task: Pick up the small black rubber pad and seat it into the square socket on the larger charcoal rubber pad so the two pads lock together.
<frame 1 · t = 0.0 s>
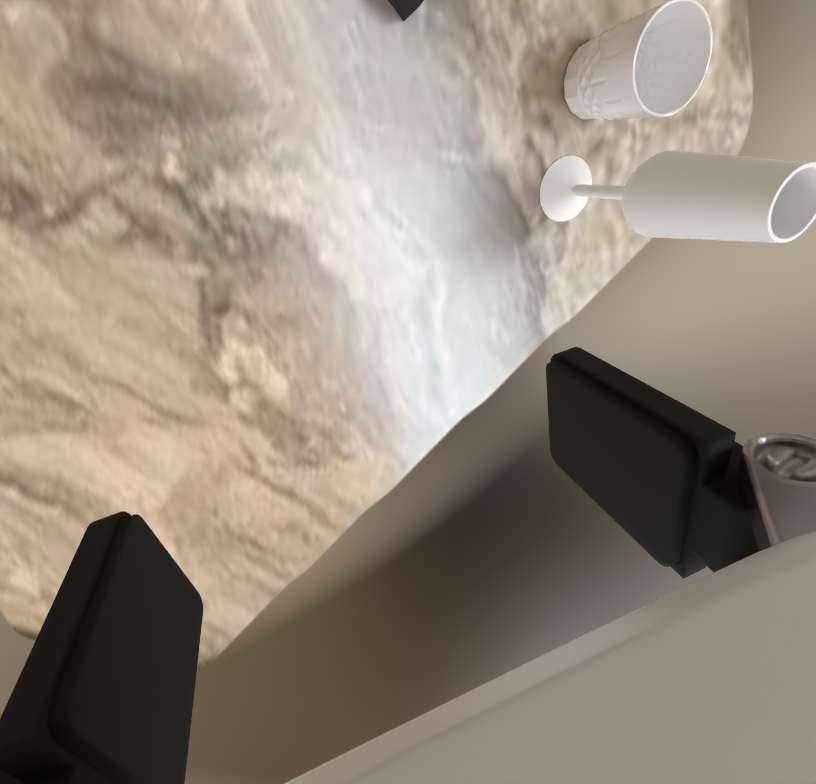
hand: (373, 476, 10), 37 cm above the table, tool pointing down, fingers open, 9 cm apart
champagne flute: (564, 189, 48), on the table
white cup: (590, 81, 44), on the table
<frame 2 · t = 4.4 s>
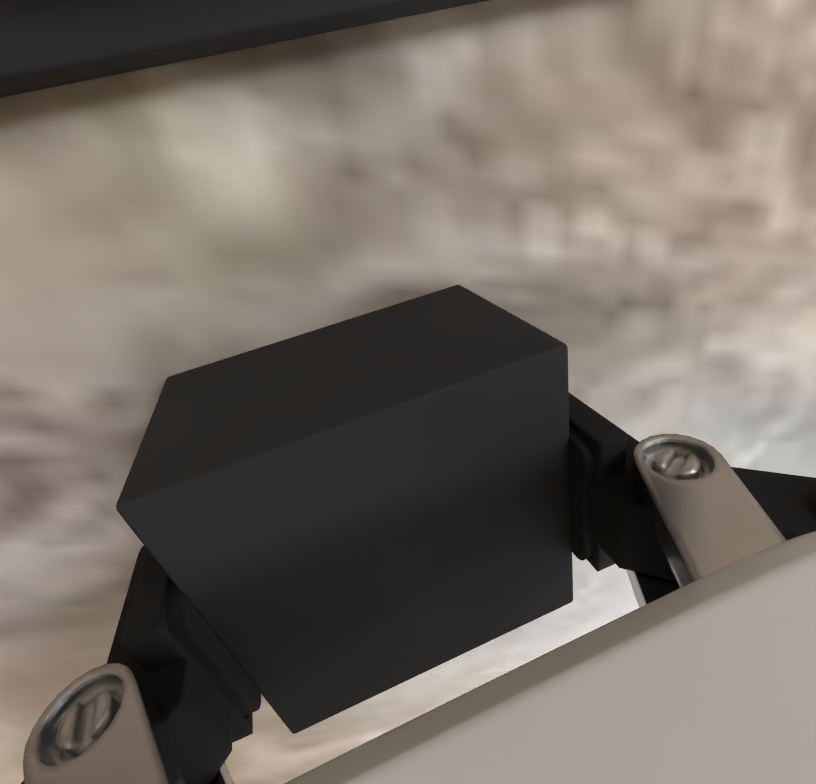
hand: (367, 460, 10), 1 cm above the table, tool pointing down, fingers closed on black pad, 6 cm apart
black pad: (361, 444, 11), on the table, touching gripper
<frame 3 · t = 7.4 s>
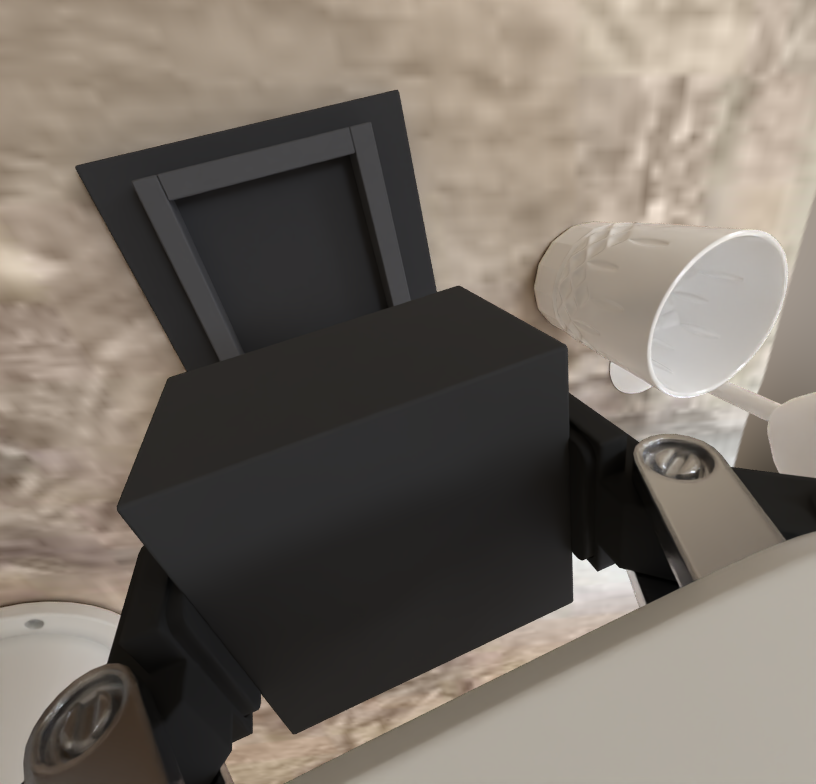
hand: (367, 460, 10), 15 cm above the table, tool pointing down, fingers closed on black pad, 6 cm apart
base pad: (293, 260, 22), on the table
champagne flute: (644, 353, 33), on the table
white cup: (576, 275, 28), on the table
black pad: (361, 445, 11), point 15 cm above the table, touching gripper
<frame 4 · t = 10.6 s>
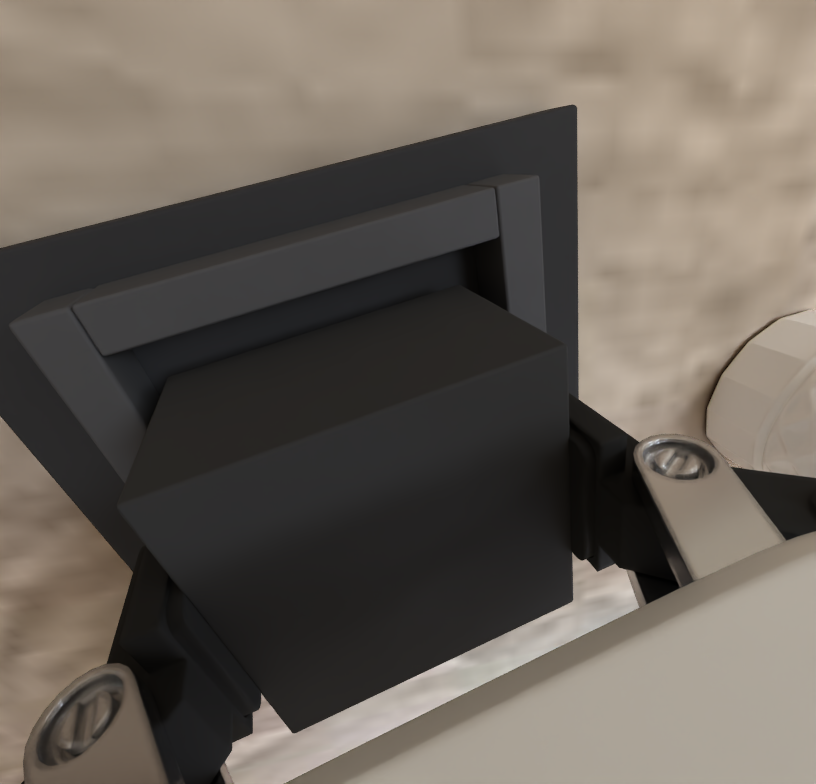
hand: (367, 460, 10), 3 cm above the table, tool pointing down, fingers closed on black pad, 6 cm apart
base pad: (349, 403, 13), on the table
white cup: (763, 383, 19), on the table
black pad: (361, 444, 11), point 2 cm above the table, touching gripper
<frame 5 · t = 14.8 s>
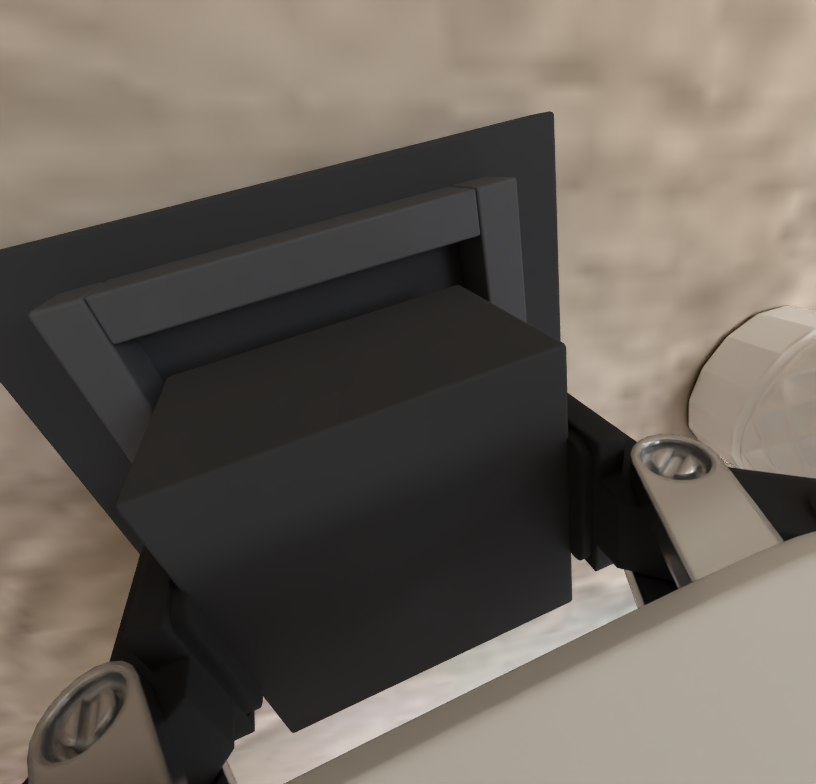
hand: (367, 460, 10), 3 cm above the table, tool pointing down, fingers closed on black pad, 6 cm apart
base pad: (342, 393, 13), on the table
white cup: (743, 377, 19), on the table
black pad: (360, 444, 11), point 3 cm above the table, touching gripper
when the fingers open (3 cm above the table, at t = 18.5 s): black pad drops 1 cm, resting on base pad.
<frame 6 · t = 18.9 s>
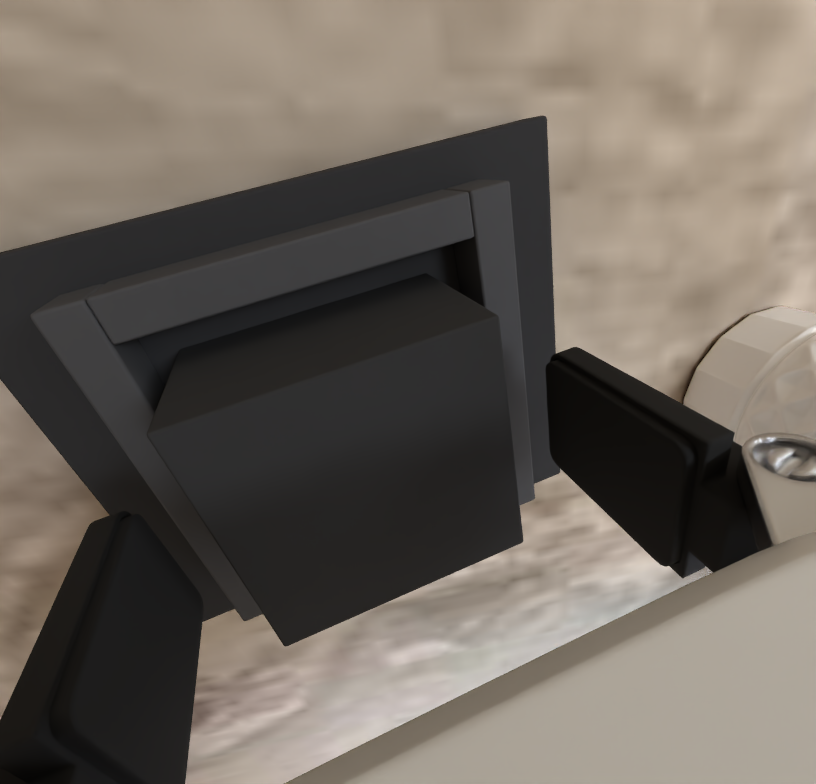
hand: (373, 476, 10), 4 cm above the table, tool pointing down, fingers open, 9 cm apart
base pad: (340, 393, 13), on the table
white cup: (737, 377, 19), on the table
black pad: (344, 412, 13), point 1 cm above the table, touching base pad
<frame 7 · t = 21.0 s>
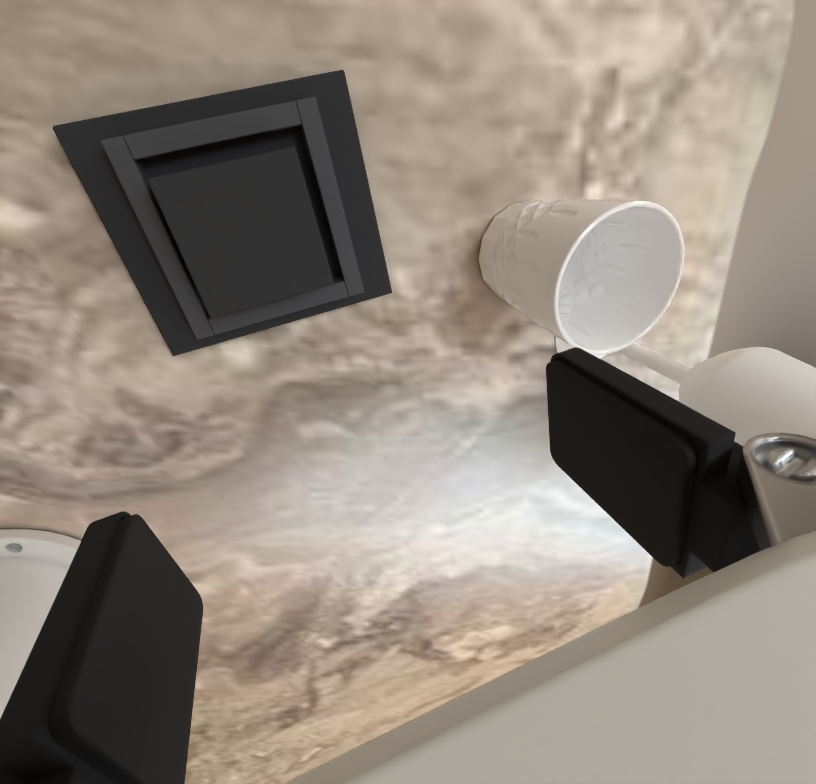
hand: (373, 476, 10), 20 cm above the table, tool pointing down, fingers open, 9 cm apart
base pad: (251, 222, 25), on the table
champagne flute: (589, 328, 36), on the table
white cup: (519, 250, 31), on the table
black pad: (251, 227, 24), point 1 cm above the table, touching base pad
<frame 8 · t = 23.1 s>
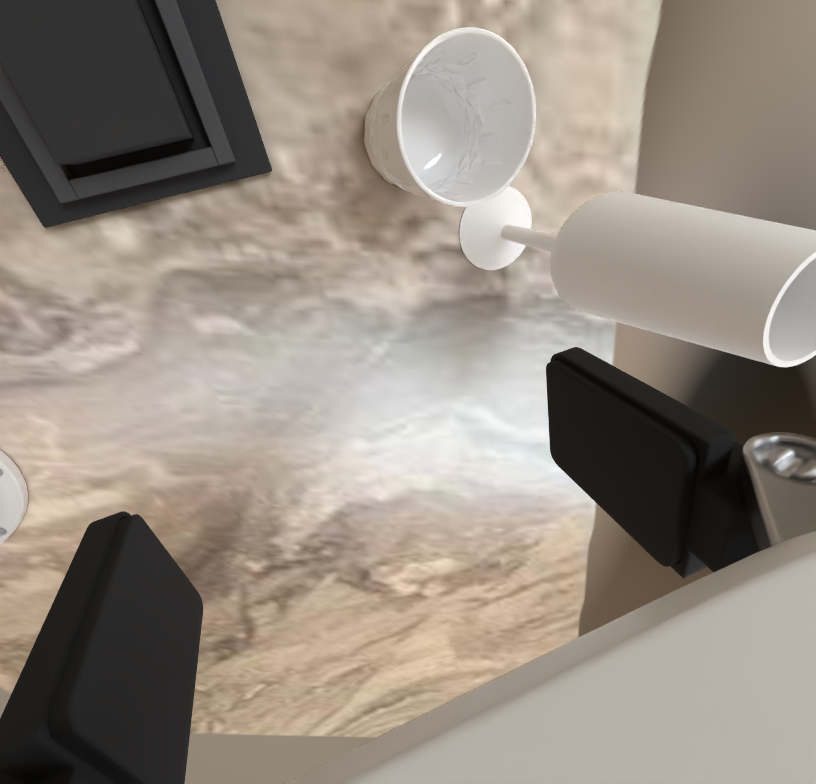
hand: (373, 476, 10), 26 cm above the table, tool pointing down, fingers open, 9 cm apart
base pad: (114, 86, 25), on the table
champagne flute: (495, 229, 36), on the table
white cup: (408, 136, 31), on the table
black pad: (109, 86, 24), point 1 cm above the table, touching base pad
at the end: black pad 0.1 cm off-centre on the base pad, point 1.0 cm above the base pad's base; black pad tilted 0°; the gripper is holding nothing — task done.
